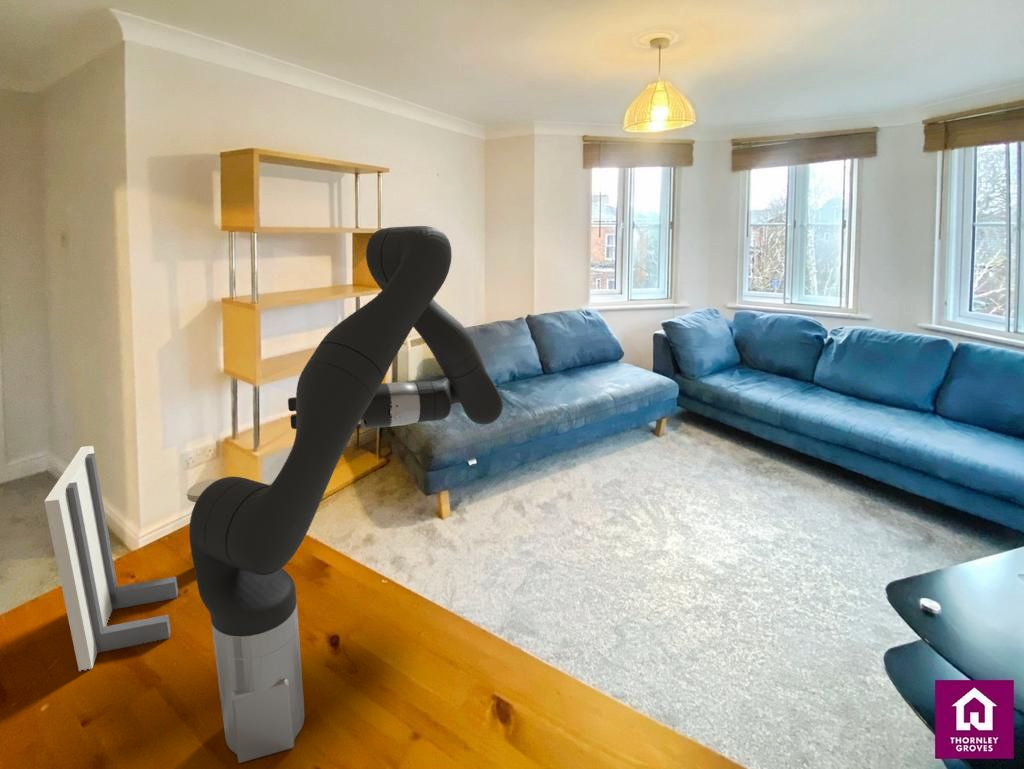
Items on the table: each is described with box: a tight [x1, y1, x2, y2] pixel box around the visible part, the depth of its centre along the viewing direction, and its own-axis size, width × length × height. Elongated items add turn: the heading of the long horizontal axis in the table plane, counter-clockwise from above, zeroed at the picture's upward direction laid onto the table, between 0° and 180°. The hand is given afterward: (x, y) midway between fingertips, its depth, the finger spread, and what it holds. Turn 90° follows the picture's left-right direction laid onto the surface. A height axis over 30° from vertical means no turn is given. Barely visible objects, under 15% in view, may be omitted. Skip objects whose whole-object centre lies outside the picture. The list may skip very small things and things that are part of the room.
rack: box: [44, 445, 179, 672], centre depth 88 cm, size 18×10×26 cm, turn 23°
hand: (289, 413), depth 96 cm, fingers open, 8 cm apart
